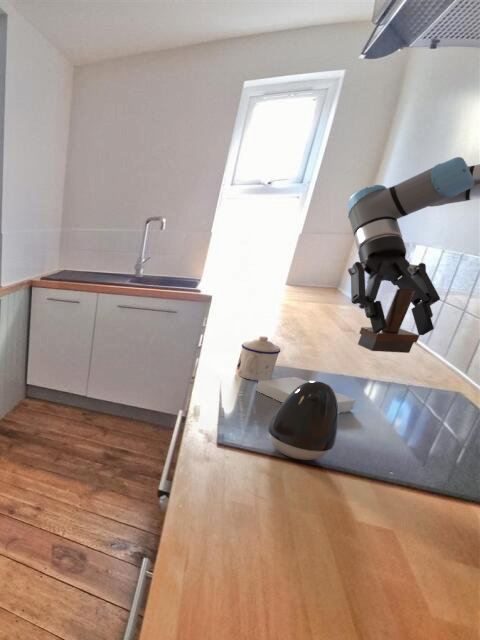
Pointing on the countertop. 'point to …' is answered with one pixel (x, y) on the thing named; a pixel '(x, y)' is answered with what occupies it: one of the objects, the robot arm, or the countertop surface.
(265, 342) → the teacup with lid
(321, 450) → the dark grey egg-shaped speaker
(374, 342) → the scrub brush
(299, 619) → the countertop surface
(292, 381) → the white tile
